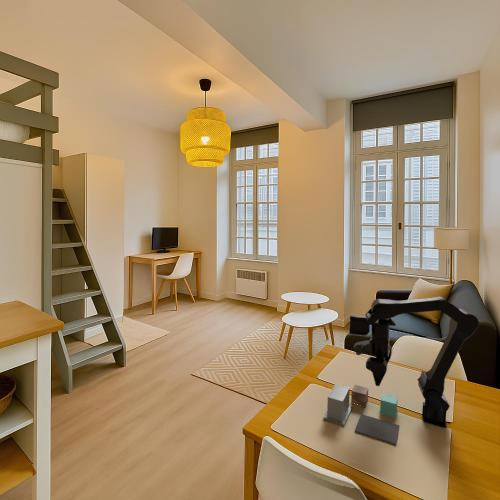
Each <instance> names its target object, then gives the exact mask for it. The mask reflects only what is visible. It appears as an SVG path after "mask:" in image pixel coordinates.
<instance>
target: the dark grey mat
mask: <svg viewBox="0 0 500 500" xmlns="http://www.w3.org/2000/svg"><path fill="white" fill-rule="evenodd" d="M399 429H400V424H396V423H393V422H390V421H386V420H383V419H379V418H376V417H373V416H370V415H366V414H364V413H360V416H359V418H358V421H357V424H356V426H355V429H354V433H357V434H360V435H363V436H366V437H369V438H372V439H374V440H375V439H376V440H378V441H381V442H384V443H387V444H390V445H393V446H397V442H398V436H399Z"/></svg>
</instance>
